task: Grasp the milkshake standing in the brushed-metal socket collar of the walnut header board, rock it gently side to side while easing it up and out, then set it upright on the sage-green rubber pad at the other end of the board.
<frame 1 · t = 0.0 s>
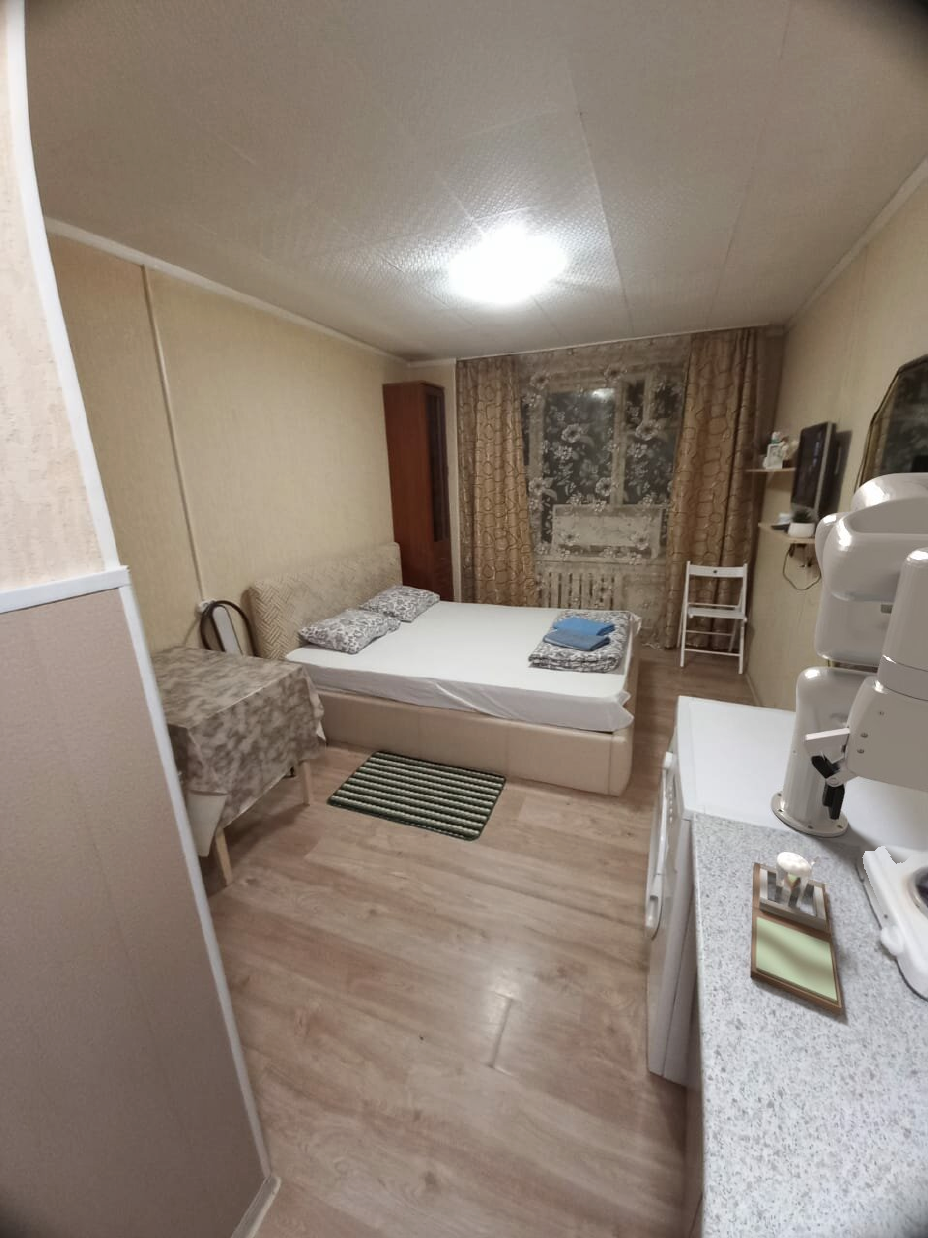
hand: (888, 826, 51), 31 cm above the countertop, tool pointing down, fingers open, 9 cm apart
milkshake: (788, 905, 78), resting in header board
header board: (789, 929, 74), on the countertop
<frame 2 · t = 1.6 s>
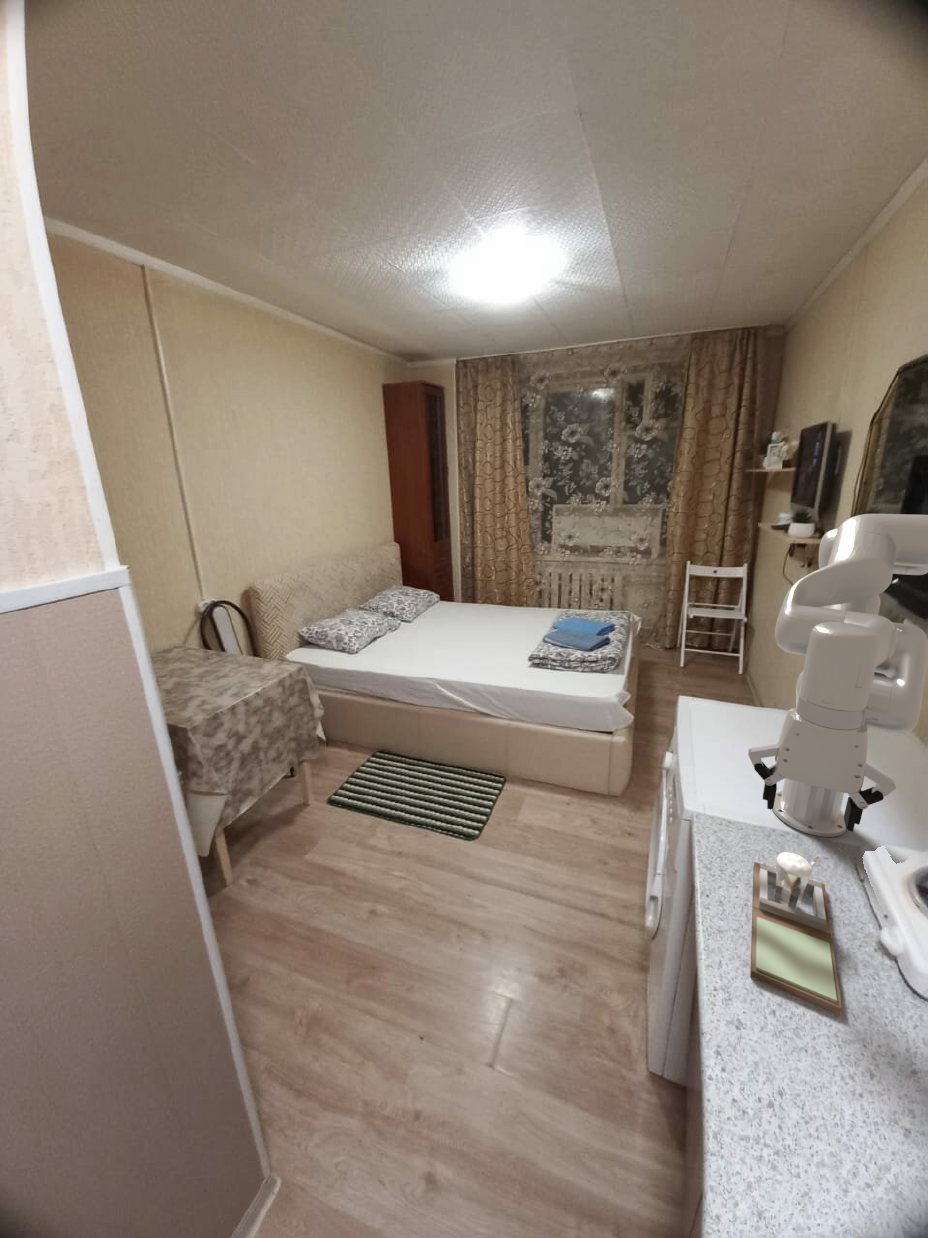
hand: (807, 814, 72), 18 cm above the countertop, tool pointing down, fingers open, 9 cm apart
nothing on the countertop moved.
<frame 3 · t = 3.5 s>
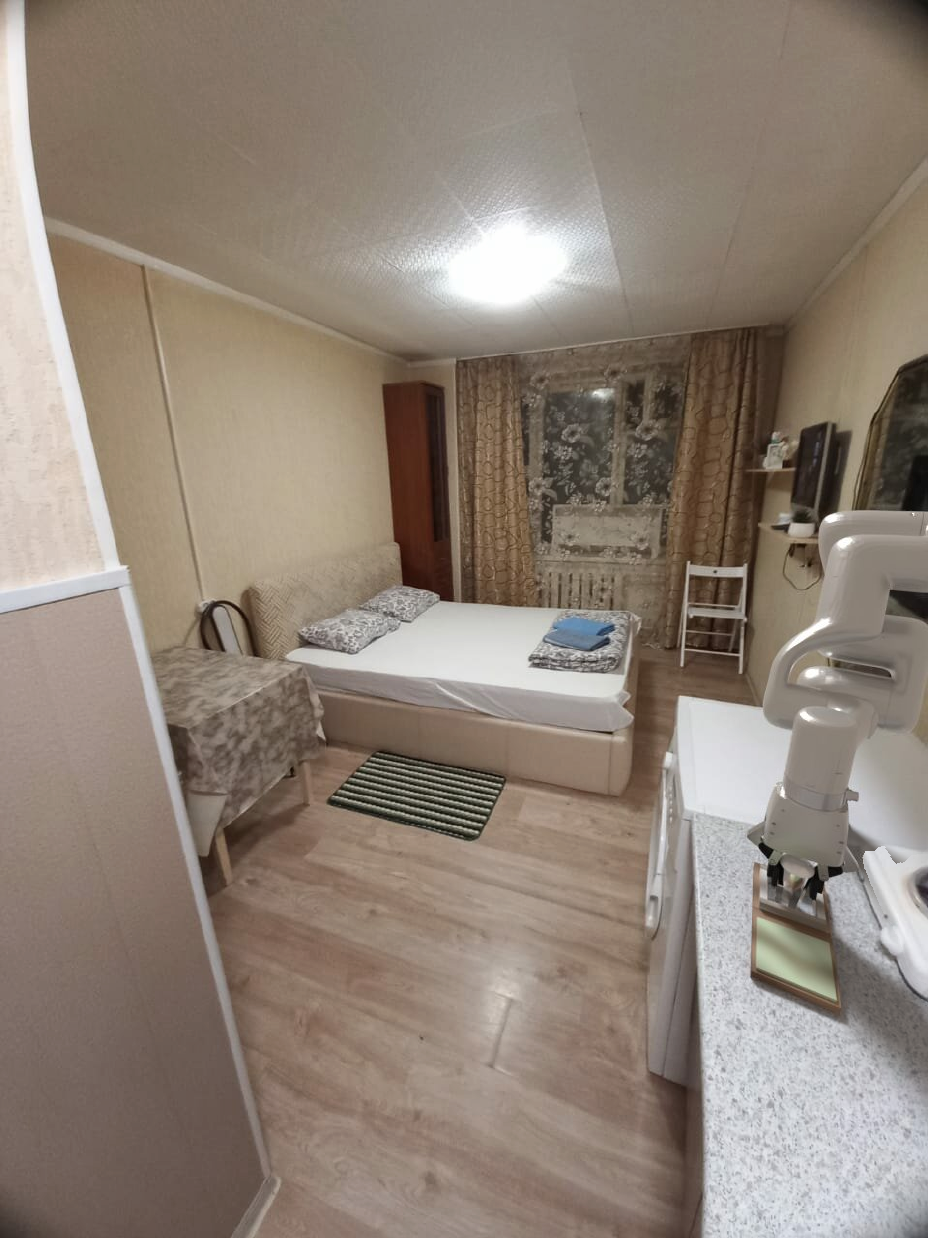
hand: (792, 886, 77), 4 cm above the countertop, tool pointing down, fingers closed on milkshake, 4 cm apart
milkshake: (788, 905, 78), resting in header board, touching gripper
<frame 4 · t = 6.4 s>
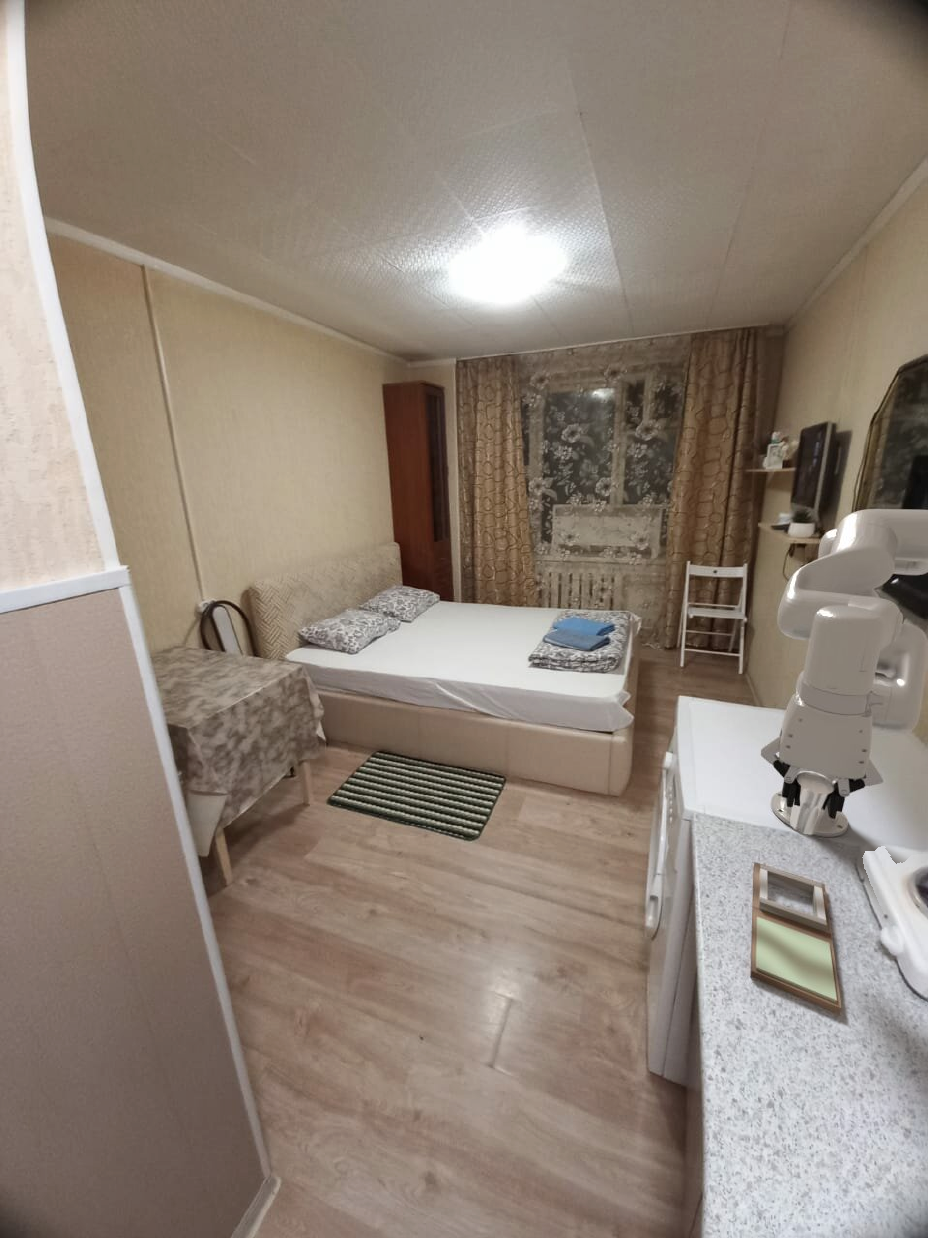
hand: (809, 806, 72), 19 cm above the countertop, tool pointing down, fingers closed on milkshake, 4 cm apart
milkshake: (805, 828, 73), point 15 cm above the countertop, touching gripper
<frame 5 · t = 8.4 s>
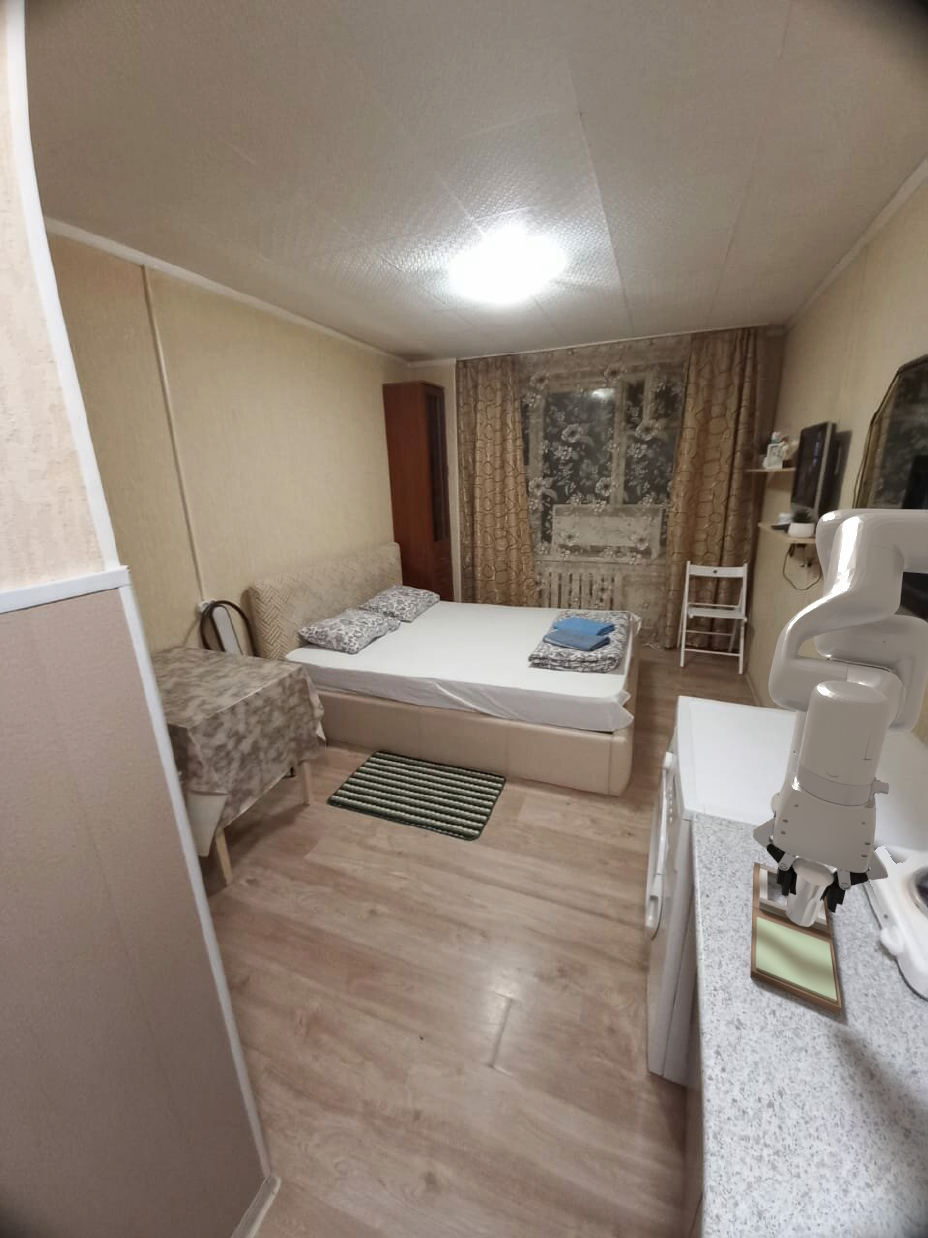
hand: (806, 895, 65), 13 cm above the countertop, tool pointing down, fingers closed on milkshake, 4 cm apart
milkshake: (801, 918, 66), point 9 cm above the countertop, touching gripper
when the fingers open (7 cm above the countertop, at t = 9.8 s): milkshake drops 1 cm, resting on header board.
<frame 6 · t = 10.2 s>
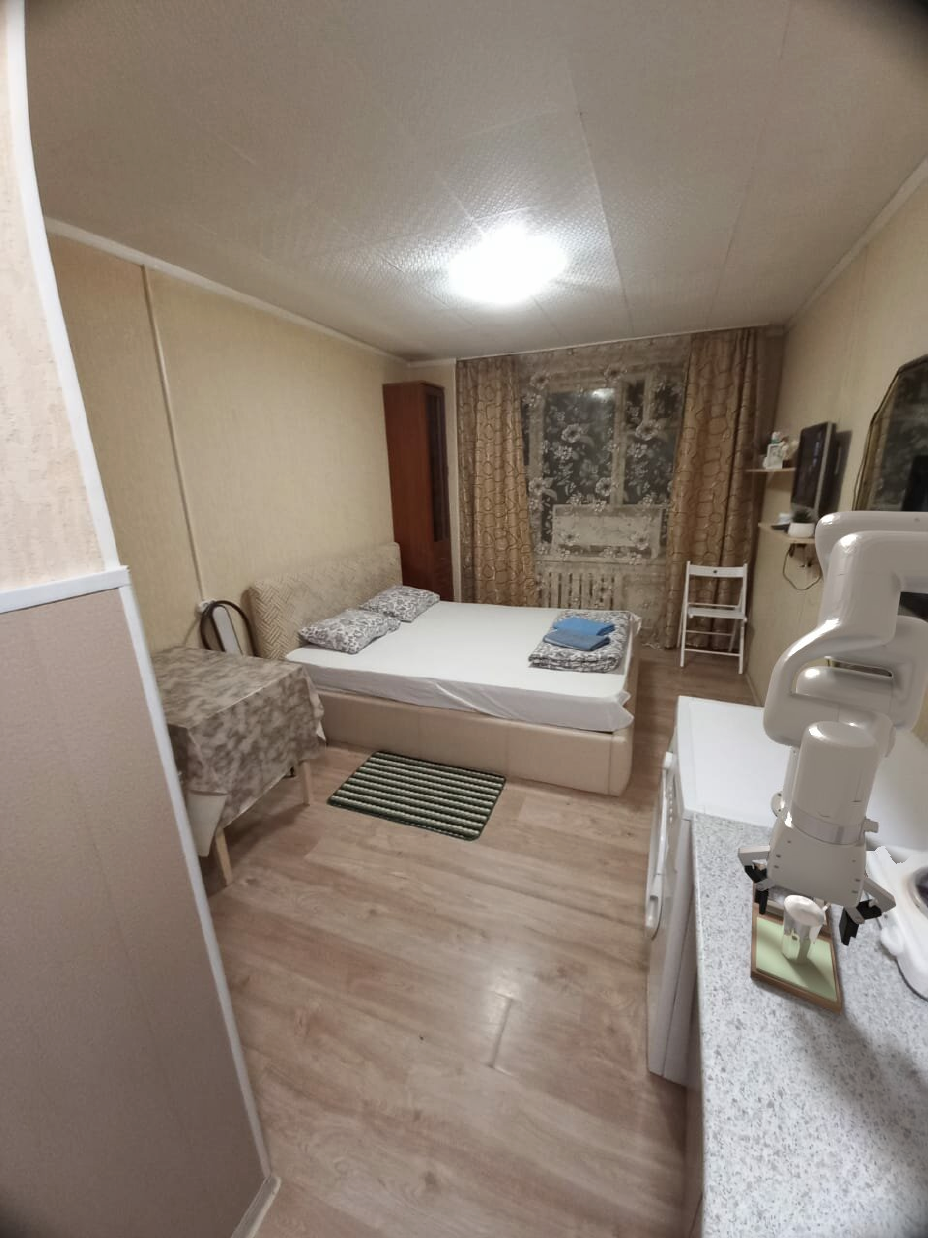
hand: (801, 921, 67), 8 cm above the countertop, tool pointing down, fingers open, 9 cm apart
milkshake: (797, 955, 68), point 1 cm above the countertop, touching header board
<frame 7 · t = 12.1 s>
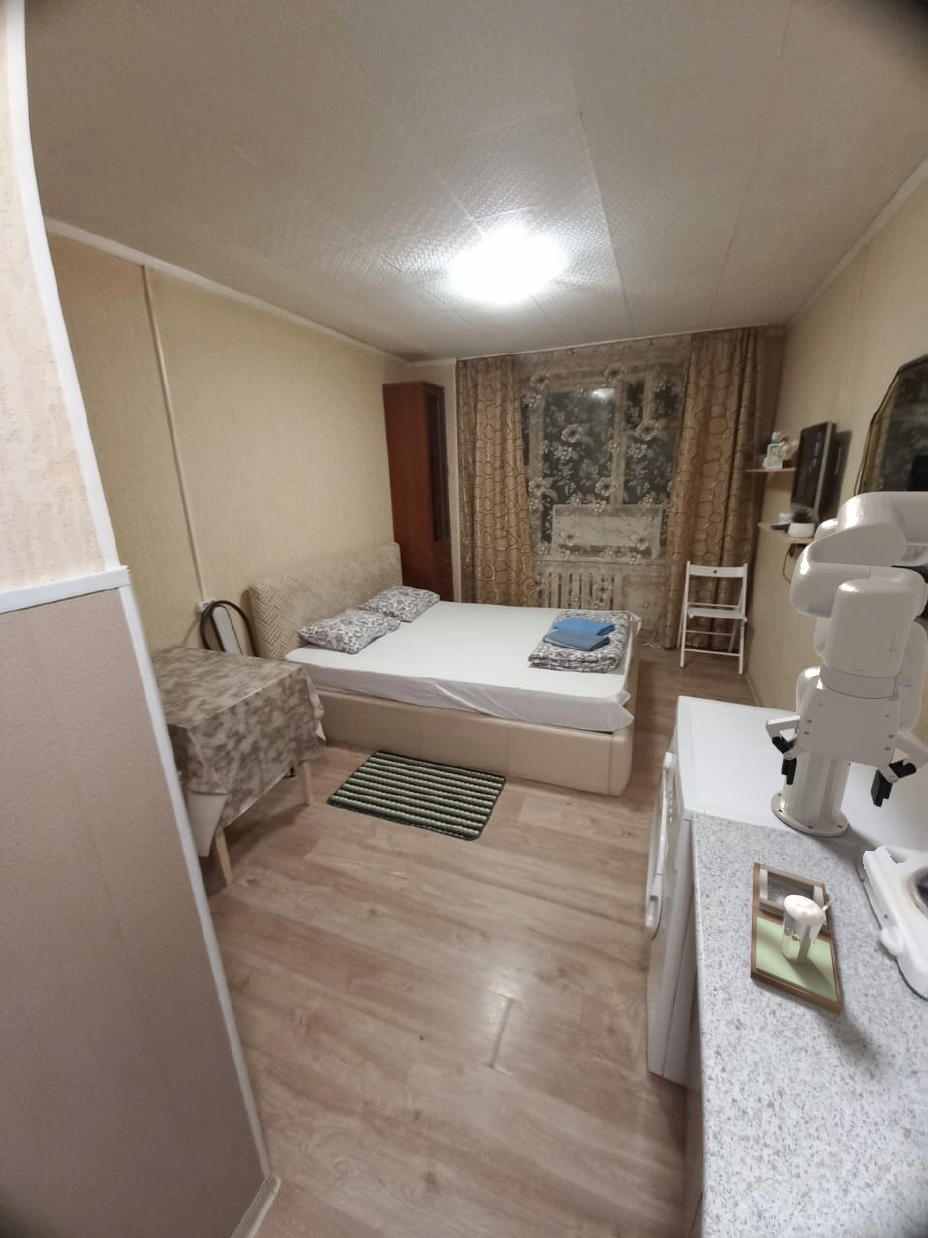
hand: (830, 789, 67), 25 cm above the countertop, tool pointing down, fingers open, 9 cm apart
nothing on the countertop moved.
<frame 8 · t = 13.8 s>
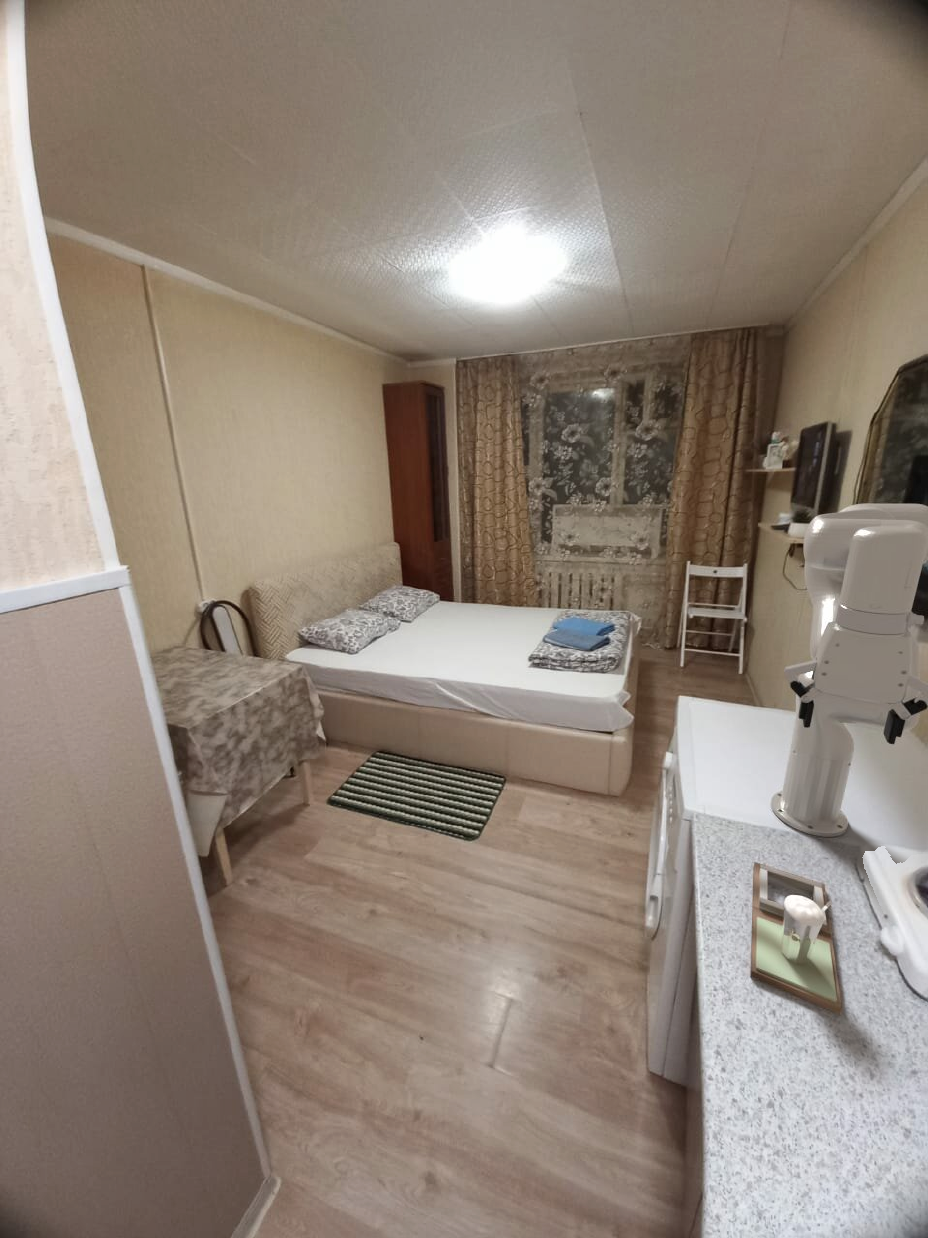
hand: (845, 731, 71), 30 cm above the countertop, tool pointing down, fingers open, 9 cm apart
nothing on the countertop moved.
at the end: milkshake 0.6 cm from the target spot on the header board, point 1.4 cm above the header board's base; milkshake tilted 0°; the gripper is holding nothing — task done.
